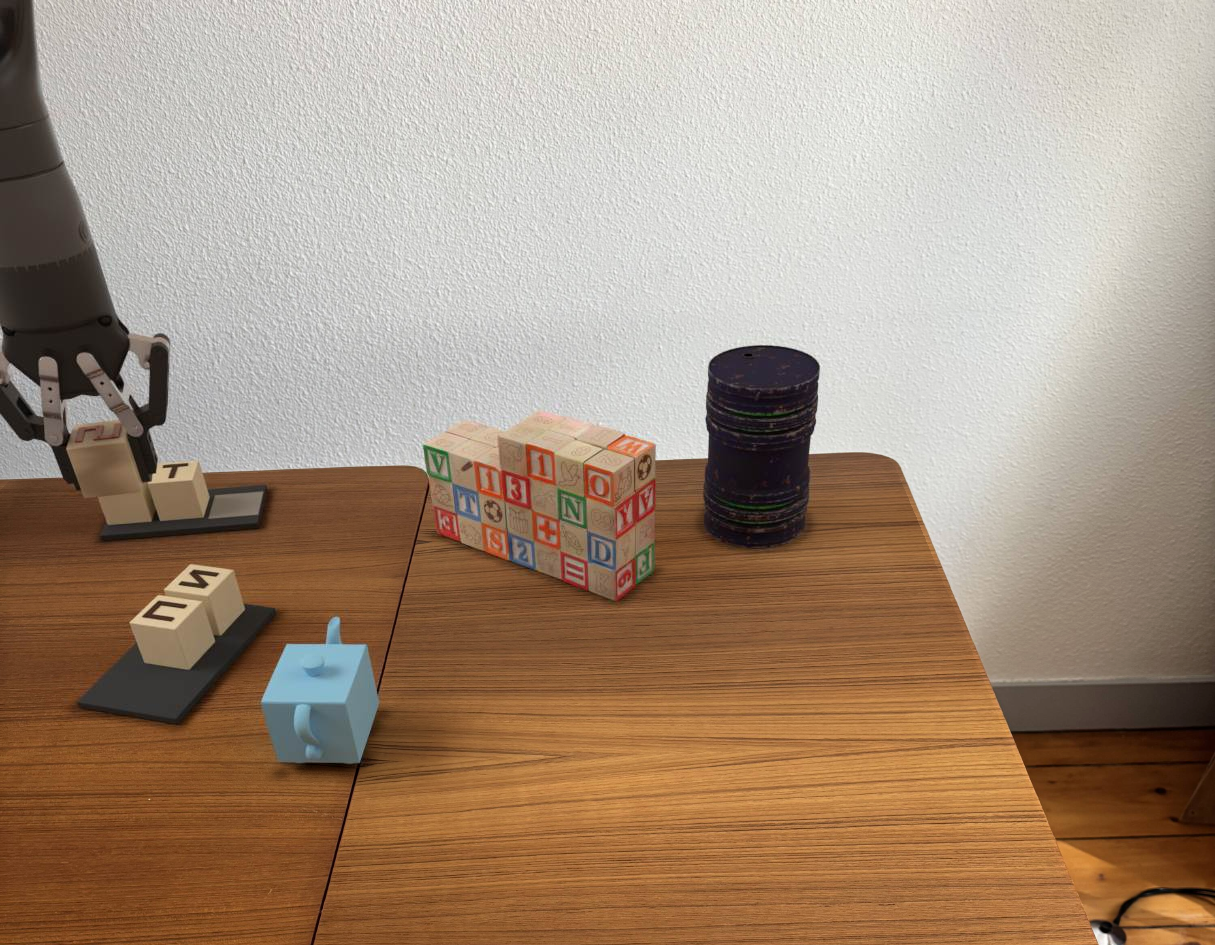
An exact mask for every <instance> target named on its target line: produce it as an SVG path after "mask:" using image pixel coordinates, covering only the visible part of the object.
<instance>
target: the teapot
mask: <svg viewBox="0 0 1215 945" xmlns="http://www.w3.org/2000/svg"><path fill="white" fill-rule="evenodd" d="M340 628H341V618H340V617H339V616H334V617H332V618H331V619H330V620H329V622H328V624H327V630H326V639H325V643H286V645H285V647H284V649H283V651H282V654H281V656H280V658H279V660H278V662H277V664H276V666H275V669H274V671H273V673H272V675H271V677H270V680H269V681H268V684H267V686H266V689H265V691H264V694H263V696H262V698H261V701H260V707H261V711H262V713H263V717H264V720H265V723H266V727H267V731H268V734H269V737H270V741H271V744H272V747H273V750H274V754H275V757H276V761H277V763H296V764H306V763H319V764H320V763H321V764H322V763H326V764H327V763H328V764H329V763H330V764H331V763H333V764H335V763H336V764H345V765H352V764H360V763H361V760H362V757H363V754H364V751H365V748H366V745H367V743H368V740H369V735H370V733H371V730H372V726H373V723H374V721H375V717H376V714H377V711H378V708H379V705H380V700H379V696H378V691H377V685H376V682H375V677H374V676H375V675H374V671H373V666H372V663H371V657H370V653H369V648H368V645H367V644H365V643H364V644H351V643H350V644H345V643H343V642H342V638H341V632H340V630H341V629H340Z"/></svg>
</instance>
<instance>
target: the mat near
mask: <svg viewBox="0 0 1215 945" xmlns="http://www.w3.org/2000/svg"><path fill="white" fill-rule="evenodd" d="M163 591H164V594H165V595H160V594H158V595H157V596H155V597H154V598H153V599H152V600H151V601H150V602H149V603H148V604H147V605H146V606H145V607H144V608H142V609H141V610H140V612H138V613H137V615H135V616H134V617H133V619H132V620H130V621H129V624H130V628H131V630H132V633H133V636H134V639H135V641H136V643H134V645H133V646H132V647H131V648H129V650H127V651H126V653H125V654H124V655H122V656H121V657H120V658H119V660H117V662H115V663H114V664H113V665H112V666H111V667H110V668H109V669H108V670H107V671H106V672H105V673H104V674H103V675H101V677H100V678H99V679H98V680H97V681H96V682H95V683H94V684H93V685H92V686H91V687H90V688H89V689H88V690H87V691H86V692H85V693H84V694H83V695H82V696H81V697H80V698H79V699H78V700H77V701H76V704H77V706H78V708H79V709H86V710H89V711H90V710H91V711H97V712H102V713H108V714H114V715H120V716H125V717H126V716H127V717H130V718H131V717H132V718H138V719H143V720H149V721H155V722H160V723H166V724H172V725H179V724H180V723H181V722H182V720H183V719H185V717H187V715H188V714H189V713H190V711H192V710H193V708H194V707H195V706H196V705H197V704H198V703H199V701H200V700H201V699H202V698H203V697H204V696H205V695H206V694H207V692H209V691H210V689H211V688H212V687H213V685H214V684H216V682H217V681H218V680H219V679H220V678H221V677H222V675H223V674H224V673H225V672H226V671H227V670H228V669H229V668H230V667H231V665H232V664H233V663H234V662H235V661H236V660H237V659H238V657H240V655H241V654H242V653H243V652H244V651H245V650H246V649H247V647H248V646H249V645H250V644H251V643H252V642H253V641H254V639H255V638H256V637H257V636H258V635H259V634H260V633H261V632H262V630H263V629H264V628H265V627H266V626H267V625H268V624H269V622H271V620H272V619H273V618H275V616H276V615H277V610H276V608H275V607H271V606H263V605H258V604H257V605H256V604H250V603H244V600H243V598H242V597H243V596H242V594H241V590H240V587H239V583H238V580H237V577H236V574H235V570H234V569H230V568H223V567H214V566H208V565H201V564H193V563H191V564H189V565H188V566H187V567H186V568H185V569H184V570H183V571H182V572H180V573H179V574H178V575H177V576H176V577H175V578H174V579H173V580H172V581H171V582H170V583H169V584H168V585H167V586H166V587H165V588H164V589H163Z"/></svg>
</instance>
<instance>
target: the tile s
mask: <svg viewBox="0 0 1215 945" xmlns="http://www.w3.org/2000/svg"><path fill="white" fill-rule="evenodd" d="M70 433H71V435H70V438H69V442H68V445H67V449H66V450H67V452H68V455H69V458H70V461H71V463H72V466H73V469H74V471H75V474H76V477H77V479H78V482H79V485H80V488H81V490H80V491H81V493H82V496H83V498H84V499H93V498H98V497H103V496H111V495H119V494H128V493H136V492H142V487H143V482H142V481H141V478H140V475H139V472H138V469H137V466H136V463H135V460H134V457H133V454H132V451H131V448H130V445H129V442H128V435H129V434H128V433H127V431H126V430H125V428H124V427H123V425H122V424H121V422H120V421H119V419H116V420H115V419H114V420H105V421H97V422H88V423H79V424H73V425H72V428H71V431H70Z"/></svg>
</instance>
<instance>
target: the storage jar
mask: <svg viewBox="0 0 1215 945" xmlns="http://www.w3.org/2000/svg"><path fill="white" fill-rule="evenodd" d="M820 372H821V365H820V362H819V361H818V360H817V359H816V358H815V357H814V356H812V355H811V354H809V353H807V352H805V351H803V350H799V349H796V348H793V347H787V346H781V345H772V344H771V345H770V344H755V345H753V344H752V345H744V346H738V347H734V348H730V349H728V350H727V349H726V350H724V351H722V352H719V353H718V354H716V355H715V356H713V357H712V358H711V359H710V360H709V362H708V365H707V378H708V380H707V388H706V389H707V392H706V395H705V410H706V415H705V418H704V421H705V427H706V431H707V433H708V440H707V442H708V444H707V445H708V446H707V463H706V465H705V467H704V483H703V489H702V490H703V492H702V494H703V495H702V498H703V508H704V515H703V527H704V529H705V531H706V532H707V533H708V534H709V535H710V536H711V537H712V538H714V539H715V540H717V541H719V542H721V543H723V544H726V545H729V546H733V547H737V548H738V547H739V548H745V549H768V548H774V547H779V546H783V545H786V544H789V543H791V542H792V541H795V540H796V539H797V538H798V537H800V536H801V534H802V533H804V531H805V527H806V513H807V508H808V503H809V499H810V488H811V487H810V482H811V469H810V466H809V460H810V450H811V440H812V435H813V434H814V432H815V427H816V425H817V418H816V414H817V413H818V404H819V394H818V393H819V380H820Z"/></svg>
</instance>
